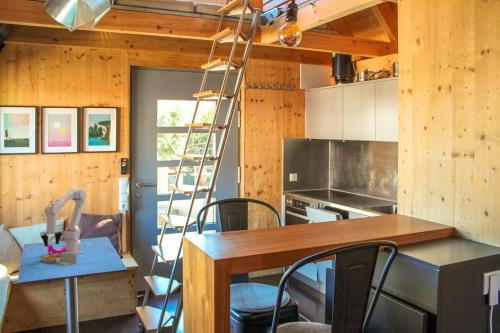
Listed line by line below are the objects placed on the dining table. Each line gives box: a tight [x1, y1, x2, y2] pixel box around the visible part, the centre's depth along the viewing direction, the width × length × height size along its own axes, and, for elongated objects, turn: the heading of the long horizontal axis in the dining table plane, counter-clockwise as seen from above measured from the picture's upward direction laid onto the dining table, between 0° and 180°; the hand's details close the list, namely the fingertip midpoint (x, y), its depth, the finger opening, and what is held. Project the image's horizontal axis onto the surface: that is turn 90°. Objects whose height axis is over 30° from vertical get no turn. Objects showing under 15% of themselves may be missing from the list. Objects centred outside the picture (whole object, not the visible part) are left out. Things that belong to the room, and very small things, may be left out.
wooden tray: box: [40, 253, 61, 265], centre depth 285 cm, size 13×14×3 cm
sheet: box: [60, 252, 78, 264], centre depth 278 cm, size 1×10×6 cm, turn 79°
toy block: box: [47, 243, 66, 255], centre depth 304 cm, size 15×6×8 cm, turn 125°
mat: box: [59, 262, 73, 266], centre depth 278 cm, size 9×8×1 cm
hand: (51, 245), depth 284 cm, fingers open, 7 cm apart
